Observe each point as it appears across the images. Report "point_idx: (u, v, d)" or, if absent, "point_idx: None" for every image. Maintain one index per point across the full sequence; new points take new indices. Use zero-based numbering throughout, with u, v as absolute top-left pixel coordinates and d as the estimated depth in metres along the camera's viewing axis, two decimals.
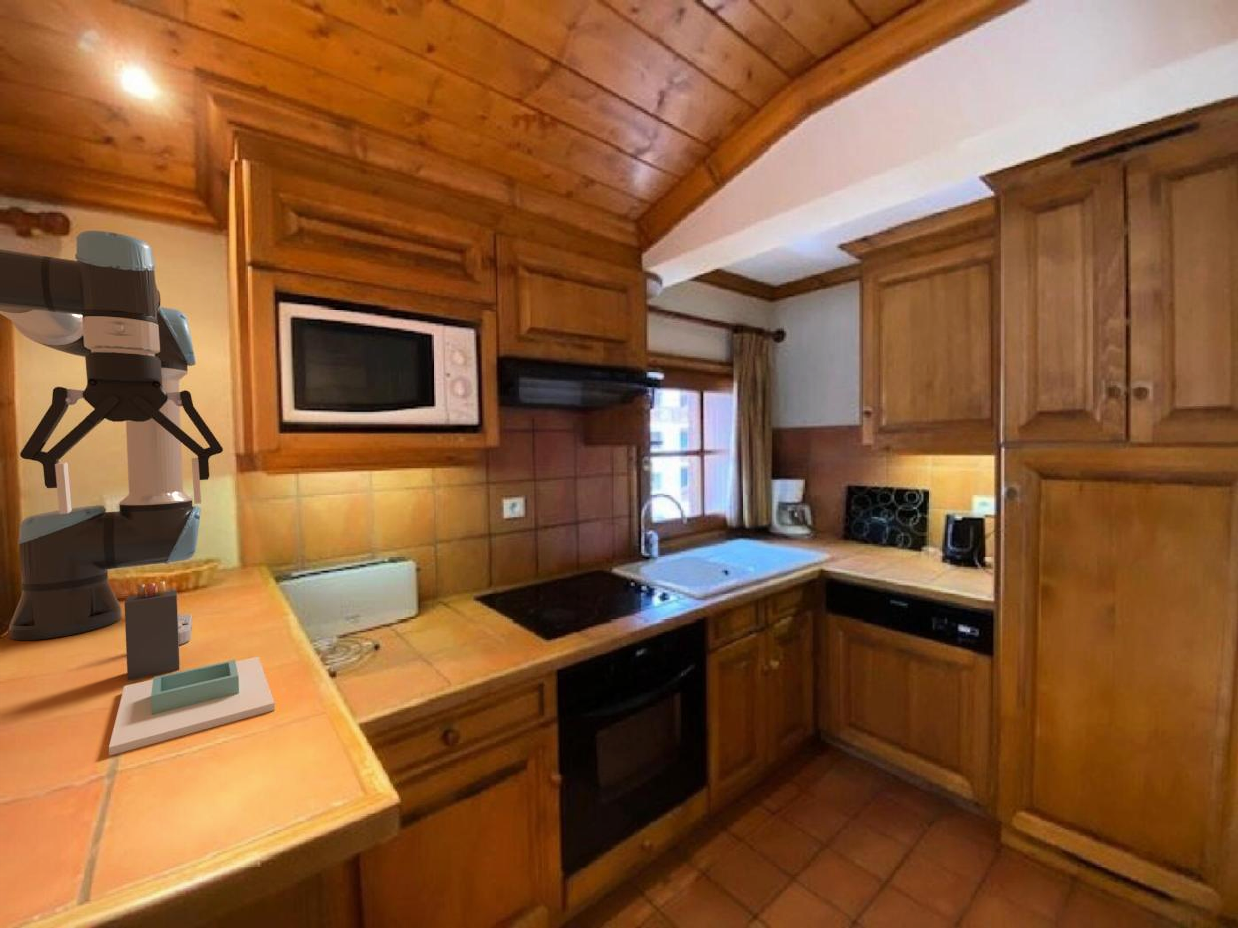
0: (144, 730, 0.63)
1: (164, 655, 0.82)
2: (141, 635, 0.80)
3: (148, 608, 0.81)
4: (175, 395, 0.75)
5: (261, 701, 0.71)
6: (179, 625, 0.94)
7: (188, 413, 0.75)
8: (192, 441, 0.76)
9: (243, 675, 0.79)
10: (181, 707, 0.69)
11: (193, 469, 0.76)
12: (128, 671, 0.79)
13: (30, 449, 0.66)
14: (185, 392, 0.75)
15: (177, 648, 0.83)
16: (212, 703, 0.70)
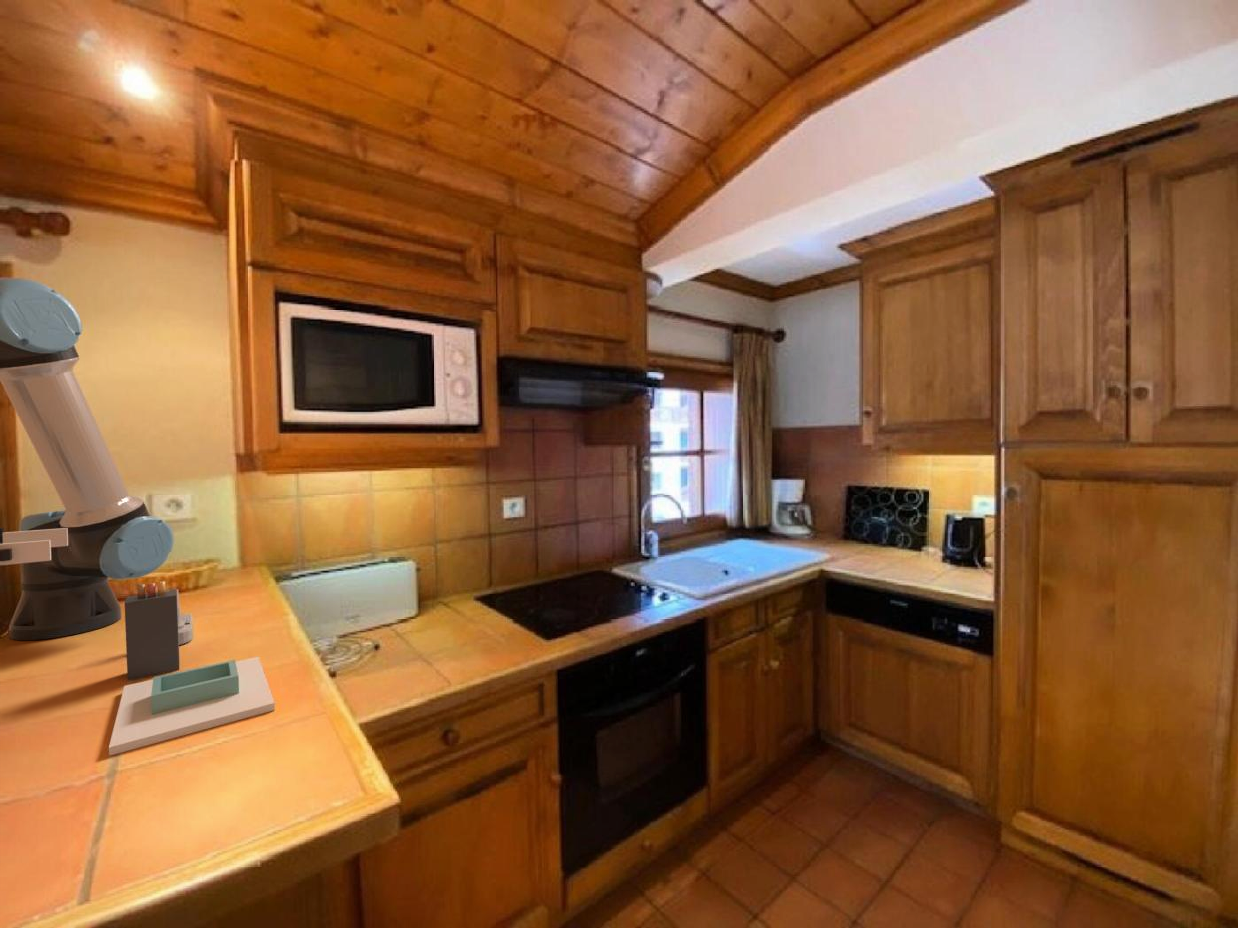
0: (144, 730, 0.63)
1: (164, 655, 0.82)
2: (141, 635, 0.80)
3: (148, 608, 0.81)
4: None
5: (261, 701, 0.71)
6: (182, 624, 0.94)
7: None
8: None
9: (243, 675, 0.79)
10: (181, 707, 0.69)
11: None
12: (128, 671, 0.79)
13: None
14: None
15: (177, 648, 0.83)
16: (212, 703, 0.70)
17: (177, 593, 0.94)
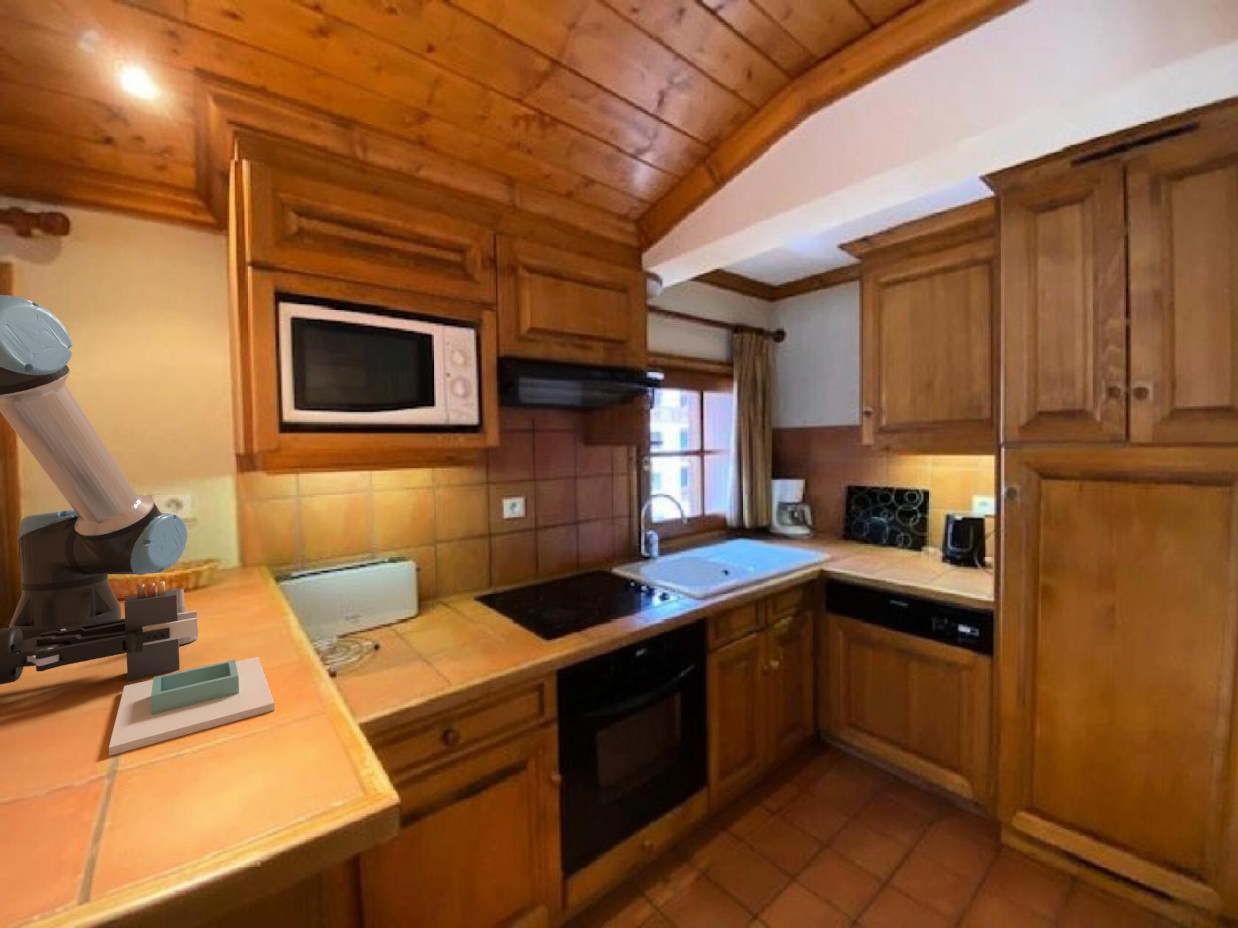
0: (144, 730, 0.63)
1: (164, 655, 0.82)
2: None
3: (148, 608, 0.81)
4: None
5: (261, 701, 0.71)
6: None
7: None
8: None
9: (243, 675, 0.79)
10: (181, 707, 0.69)
11: None
12: (128, 671, 0.79)
13: None
14: (39, 670, 0.71)
15: (177, 648, 0.83)
16: (212, 703, 0.70)
17: (182, 592, 0.95)
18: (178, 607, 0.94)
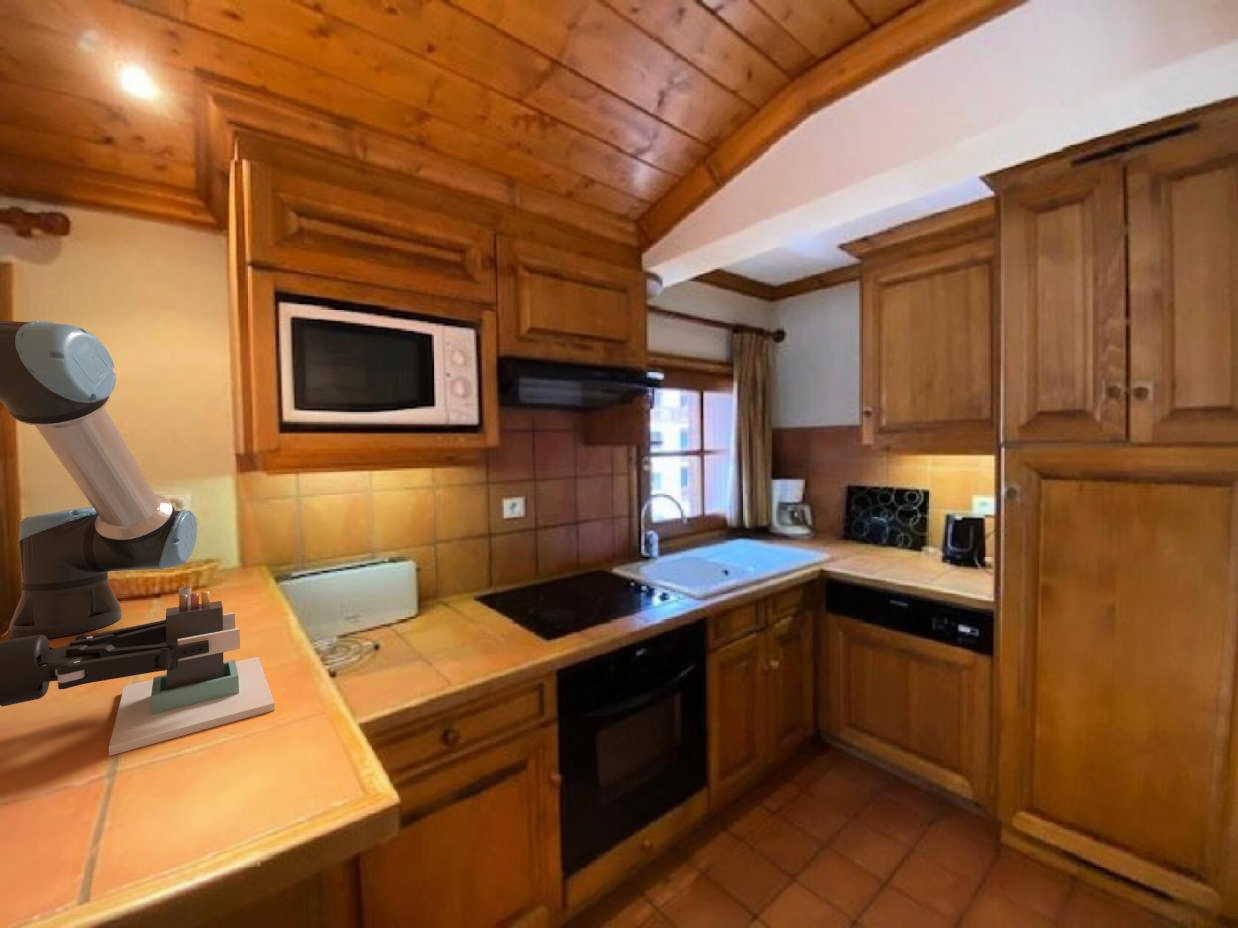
0: (144, 730, 0.63)
1: (208, 675, 0.72)
2: None
3: (191, 622, 0.71)
4: None
5: (261, 701, 0.71)
6: None
7: None
8: None
9: (243, 675, 0.79)
10: (181, 707, 0.69)
11: None
12: None
13: None
14: None
15: (222, 667, 0.73)
16: (212, 703, 0.70)
17: (190, 591, 0.96)
18: None
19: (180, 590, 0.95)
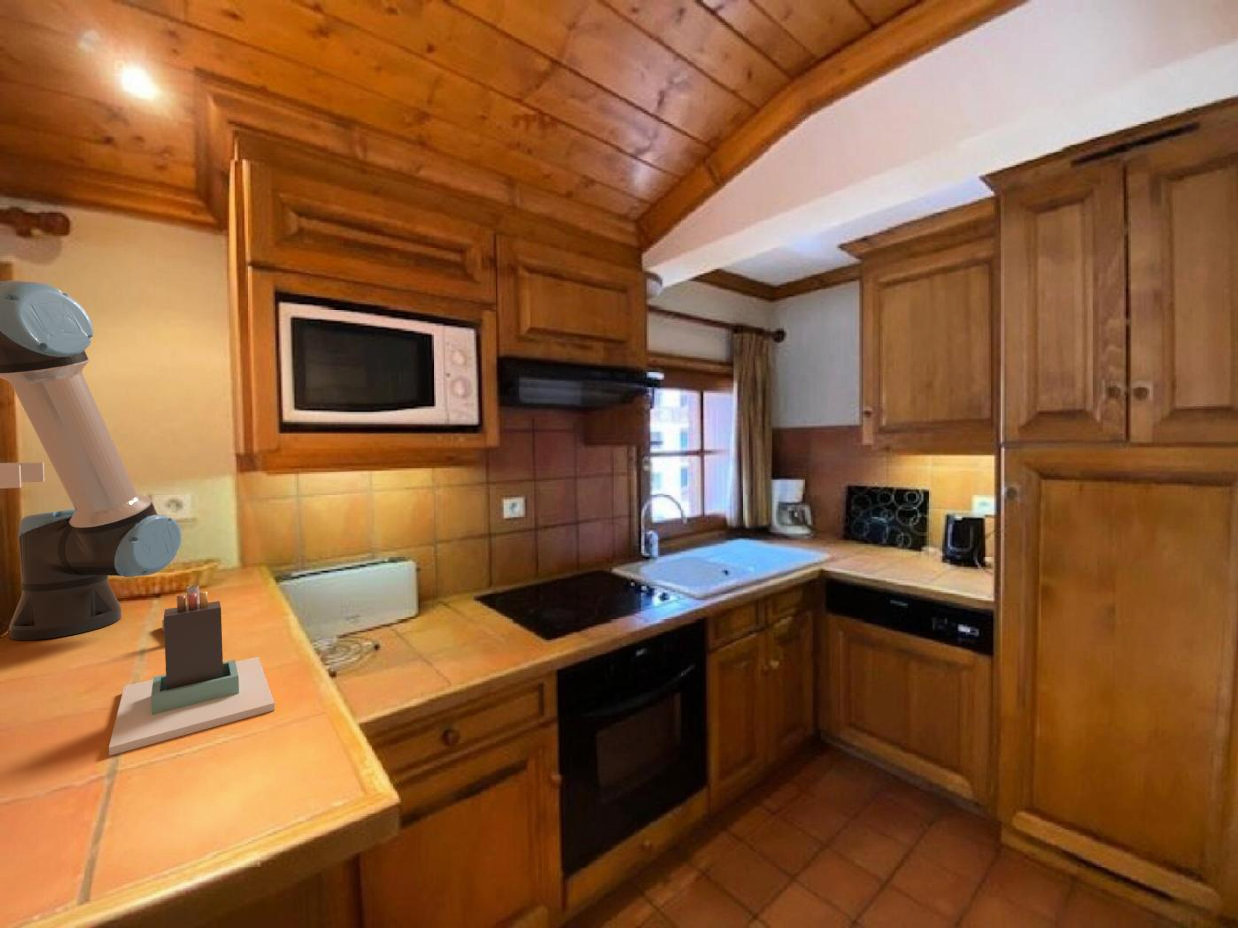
0: (144, 730, 0.63)
1: (207, 675, 0.72)
2: (182, 653, 0.70)
3: (189, 623, 0.71)
4: None
5: (261, 701, 0.71)
6: None
7: None
8: None
9: (243, 675, 0.79)
10: (181, 707, 0.69)
11: None
12: None
13: None
14: None
15: (221, 667, 0.73)
16: (212, 703, 0.70)
17: (198, 589, 0.97)
18: None
19: (188, 588, 0.96)
